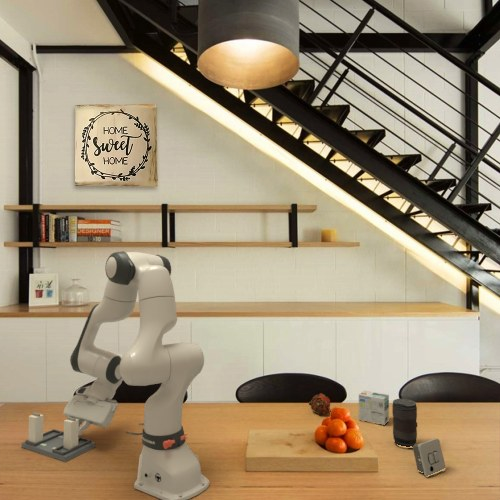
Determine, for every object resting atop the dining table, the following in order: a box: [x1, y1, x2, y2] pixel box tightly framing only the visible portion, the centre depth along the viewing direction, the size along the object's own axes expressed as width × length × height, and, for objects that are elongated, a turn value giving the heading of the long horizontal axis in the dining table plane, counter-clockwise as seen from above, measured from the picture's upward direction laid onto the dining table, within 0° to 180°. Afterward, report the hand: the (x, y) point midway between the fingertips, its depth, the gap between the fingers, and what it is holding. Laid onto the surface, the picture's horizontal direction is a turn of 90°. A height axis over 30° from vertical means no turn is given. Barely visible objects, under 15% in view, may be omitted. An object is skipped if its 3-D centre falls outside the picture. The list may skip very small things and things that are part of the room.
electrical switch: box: [412, 437, 447, 476], centre depth 131 cm, size 9×5×9 cm, turn 121°
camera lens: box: [391, 398, 418, 447], centre depth 149 cm, size 8×8×15 cm
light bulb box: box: [358, 390, 390, 426], centre depth 170 cm, size 11×7×11 cm, turn 58°
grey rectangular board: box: [21, 428, 96, 463], centre depth 145 cm, size 22×12×2 cm, turn 62°
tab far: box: [27, 412, 44, 443], centre depth 145 cm, size 4×3×10 cm
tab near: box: [63, 417, 80, 449], centre depth 141 cm, size 4×3×10 cm
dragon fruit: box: [308, 392, 331, 416], centre depth 179 cm, size 8×8×12 cm
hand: (75, 433), depth 143 cm, fingers closed, pressing on tab near
